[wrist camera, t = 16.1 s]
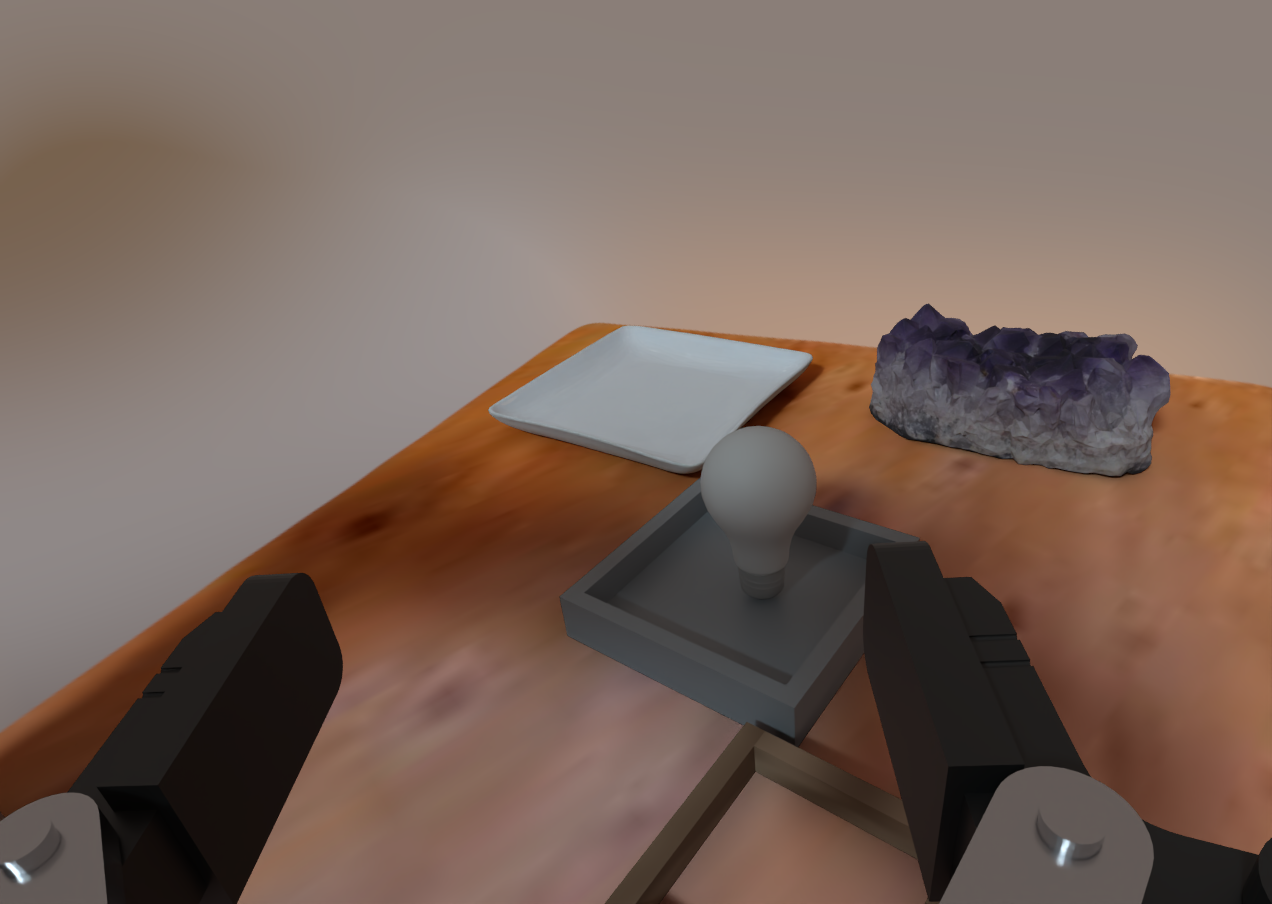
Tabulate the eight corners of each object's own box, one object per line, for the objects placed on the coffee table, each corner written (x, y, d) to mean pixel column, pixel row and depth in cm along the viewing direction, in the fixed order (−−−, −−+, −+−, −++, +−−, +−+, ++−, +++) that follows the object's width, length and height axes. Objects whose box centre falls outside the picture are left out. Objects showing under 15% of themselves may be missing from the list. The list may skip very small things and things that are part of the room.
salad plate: (818, 383, 72) (818, 348, 71) (700, 503, 58) (696, 463, 56) (628, 351, 84) (624, 320, 82) (489, 445, 69) (481, 410, 68)
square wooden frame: (603, 938, 32) (597, 912, 31) (748, 747, 39) (746, 721, 38) (864, 1141, 25) (866, 1117, 25) (980, 869, 33) (985, 841, 32)
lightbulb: (761, 546, 50) (755, 393, 44) (838, 593, 46) (842, 431, 40) (689, 594, 47) (672, 437, 42) (763, 648, 43) (756, 482, 37)
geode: (844, 452, 62) (847, 325, 58) (885, 404, 71) (890, 292, 67) (1154, 496, 51) (1183, 345, 48) (1156, 434, 60) (1181, 303, 56)
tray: (567, 635, 47) (559, 596, 46) (708, 508, 57) (706, 472, 55) (795, 751, 38) (794, 708, 37) (916, 577, 48) (919, 537, 47)
